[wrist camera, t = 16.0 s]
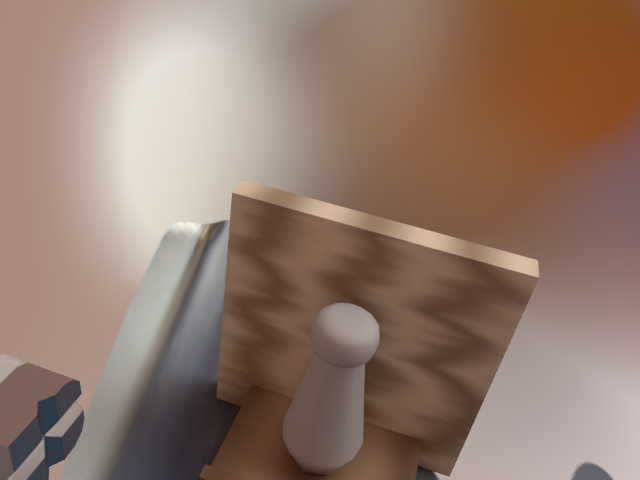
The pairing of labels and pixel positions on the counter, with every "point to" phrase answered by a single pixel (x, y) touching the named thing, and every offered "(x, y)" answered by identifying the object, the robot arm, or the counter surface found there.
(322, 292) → the wall board
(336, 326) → the salt shaker
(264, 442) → the cleat ledge
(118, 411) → the counter surface
